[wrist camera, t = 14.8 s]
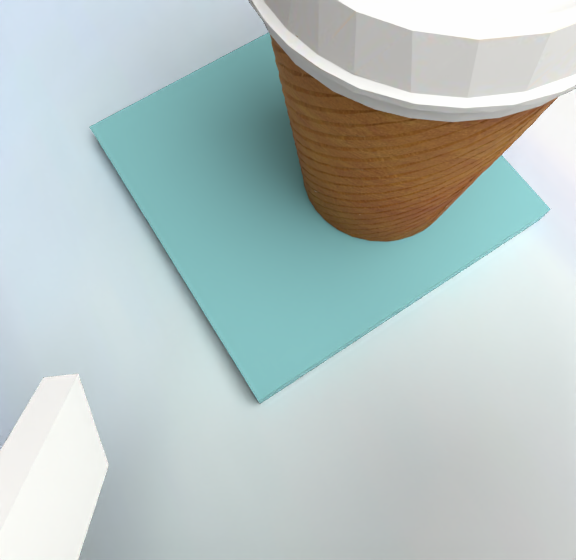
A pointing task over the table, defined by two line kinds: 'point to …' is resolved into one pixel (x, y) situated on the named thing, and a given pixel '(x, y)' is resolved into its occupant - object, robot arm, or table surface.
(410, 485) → the table surface
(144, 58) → the table surface
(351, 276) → the mat
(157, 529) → the table surface
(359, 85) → the disposable coffee cup
